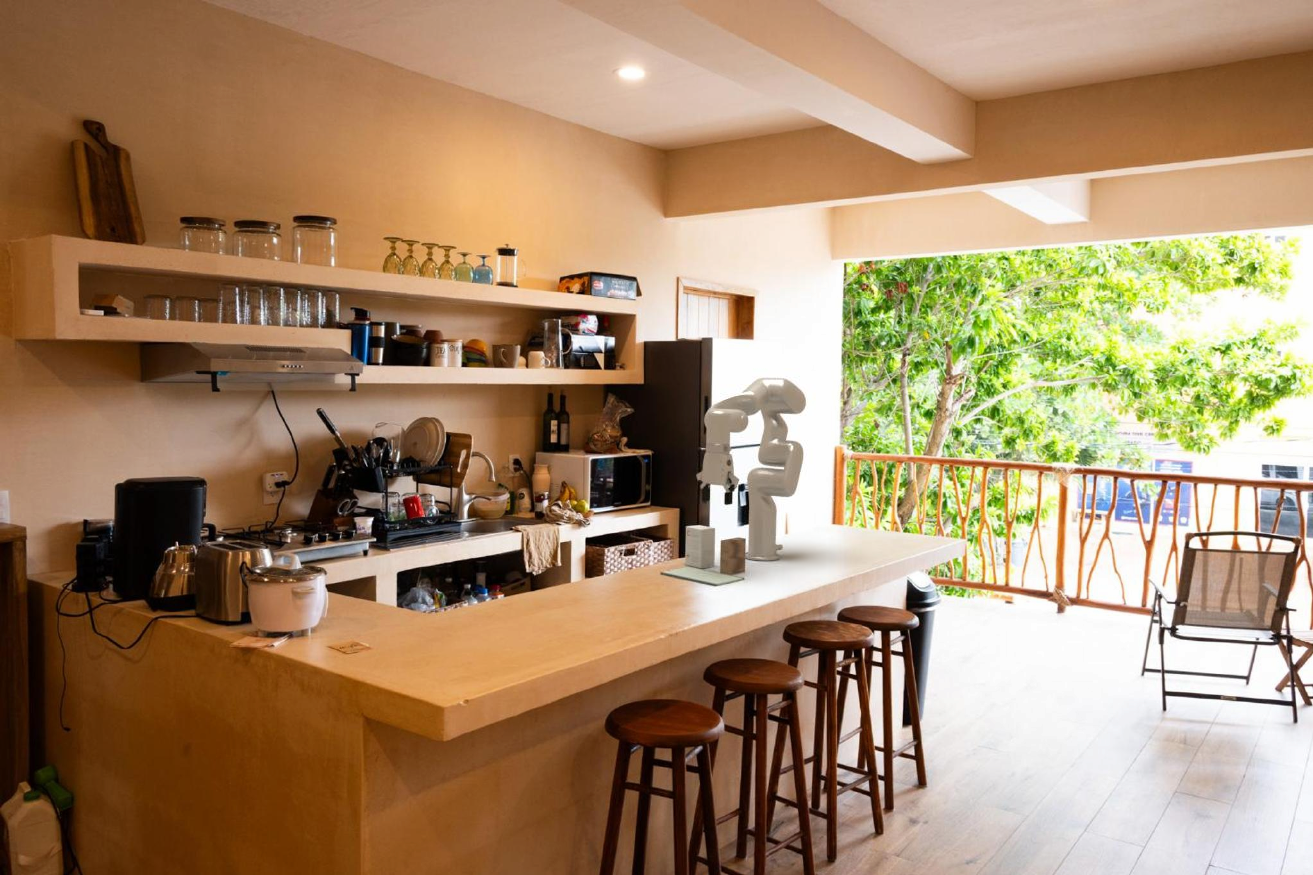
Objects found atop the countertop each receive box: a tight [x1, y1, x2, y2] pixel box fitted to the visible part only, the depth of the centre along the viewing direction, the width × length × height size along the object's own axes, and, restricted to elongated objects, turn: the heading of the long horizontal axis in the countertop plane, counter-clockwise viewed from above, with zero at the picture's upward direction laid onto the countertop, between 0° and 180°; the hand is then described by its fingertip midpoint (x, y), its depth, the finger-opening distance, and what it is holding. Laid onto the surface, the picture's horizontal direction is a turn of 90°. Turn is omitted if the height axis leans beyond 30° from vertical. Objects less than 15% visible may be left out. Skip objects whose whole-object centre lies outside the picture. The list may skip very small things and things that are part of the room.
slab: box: [719, 536, 747, 576], centre depth 310 cm, size 9×3×11 cm, turn 136°
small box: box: [684, 524, 716, 569], centre depth 321 cm, size 8×6×13 cm
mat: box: [659, 566, 745, 587], centre depth 304 cm, size 14×23×1 cm, turn 46°
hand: (716, 502), depth 308 cm, fingers open, 9 cm apart
